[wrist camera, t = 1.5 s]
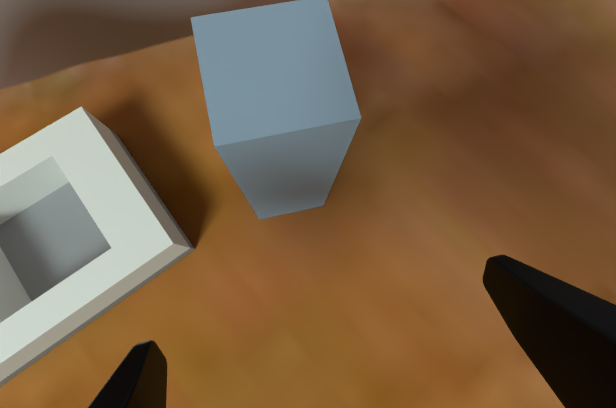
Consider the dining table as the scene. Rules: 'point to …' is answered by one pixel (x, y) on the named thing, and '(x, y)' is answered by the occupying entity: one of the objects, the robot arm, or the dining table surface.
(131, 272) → the white slotted board
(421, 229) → the dining table surface
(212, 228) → the dining table surface
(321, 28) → the peg
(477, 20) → the dining table surface
